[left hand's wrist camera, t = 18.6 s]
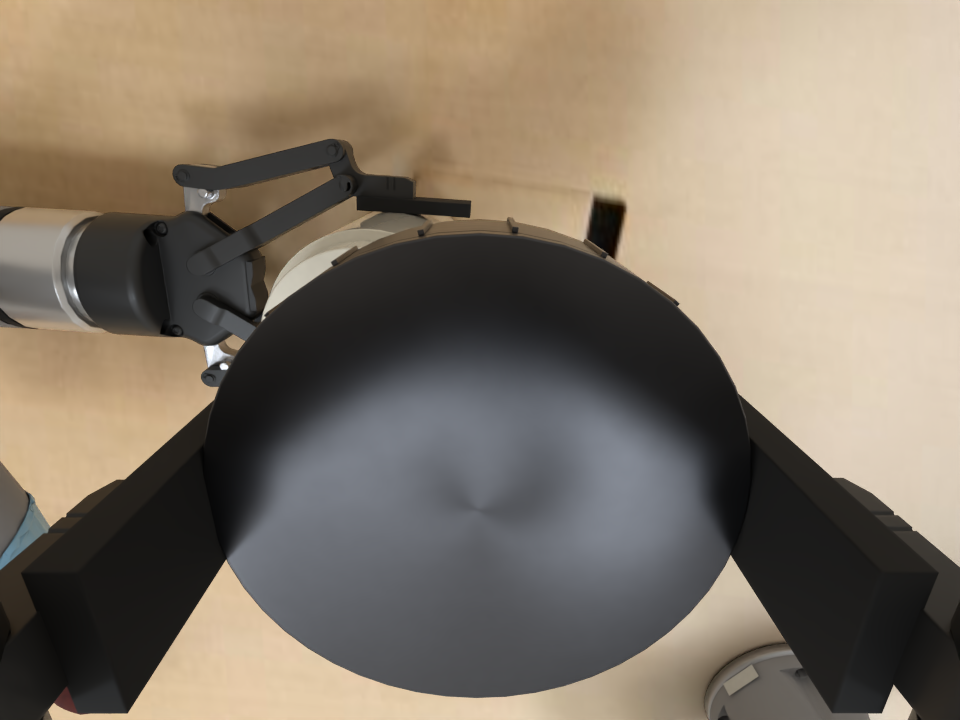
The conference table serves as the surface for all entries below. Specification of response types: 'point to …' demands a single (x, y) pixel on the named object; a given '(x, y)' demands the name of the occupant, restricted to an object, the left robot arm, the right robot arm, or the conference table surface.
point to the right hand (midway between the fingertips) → (465, 296)
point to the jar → (340, 249)
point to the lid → (477, 461)
